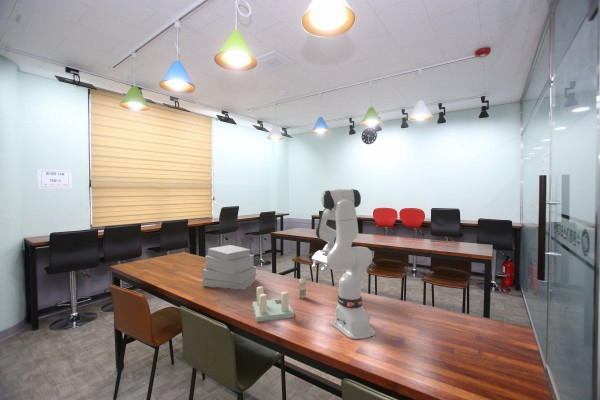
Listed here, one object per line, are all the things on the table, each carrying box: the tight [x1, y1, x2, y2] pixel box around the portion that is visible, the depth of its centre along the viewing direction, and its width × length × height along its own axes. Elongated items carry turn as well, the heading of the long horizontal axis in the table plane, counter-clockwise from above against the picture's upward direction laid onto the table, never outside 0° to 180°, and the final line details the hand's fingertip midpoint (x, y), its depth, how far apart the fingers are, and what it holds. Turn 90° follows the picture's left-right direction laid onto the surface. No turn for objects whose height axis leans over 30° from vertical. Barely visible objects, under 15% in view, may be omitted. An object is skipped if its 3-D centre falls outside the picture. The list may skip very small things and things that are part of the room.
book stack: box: [201, 244, 258, 291], centre depth 196 cm, size 30×35×26 cm
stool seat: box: [252, 286, 295, 323], centre depth 150 cm, size 20×20×12 cm
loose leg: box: [298, 277, 307, 300], centre depth 169 cm, size 4×4×12 cm
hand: (317, 268), depth 176 cm, fingers open, 8 cm apart
